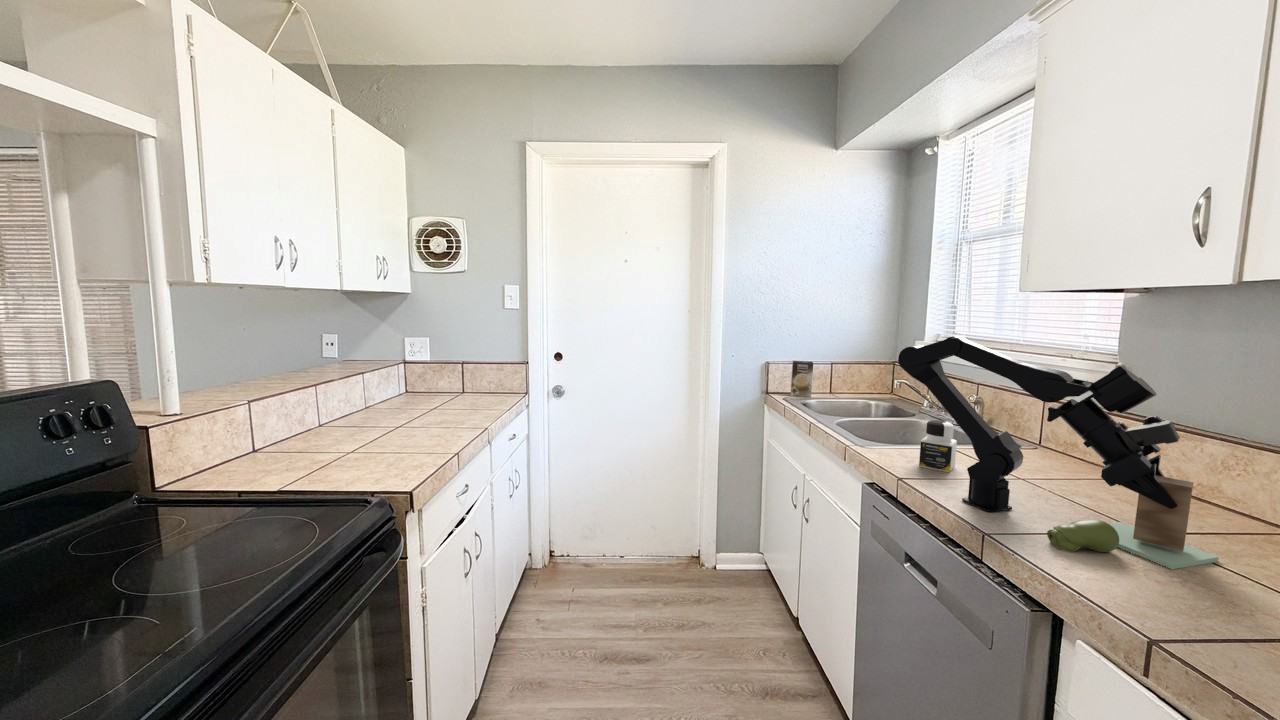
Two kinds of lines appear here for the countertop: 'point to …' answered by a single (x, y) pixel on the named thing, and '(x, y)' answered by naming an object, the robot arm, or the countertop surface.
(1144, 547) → the mat
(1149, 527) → the block
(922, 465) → the medicine bottle
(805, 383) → the coffee box
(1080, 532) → the pear
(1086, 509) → the countertop surface
